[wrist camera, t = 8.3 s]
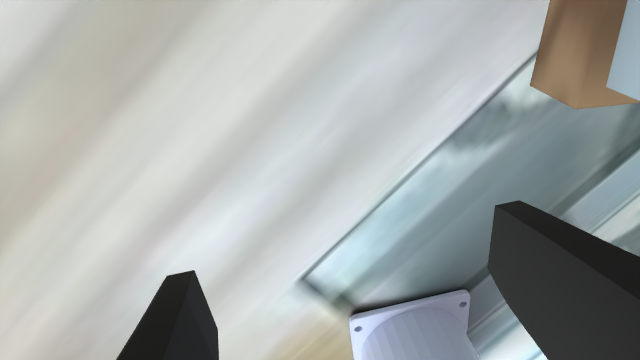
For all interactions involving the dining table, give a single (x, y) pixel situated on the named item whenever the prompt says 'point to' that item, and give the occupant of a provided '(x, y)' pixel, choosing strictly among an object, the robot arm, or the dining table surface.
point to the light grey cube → (627, 54)
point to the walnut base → (580, 52)
